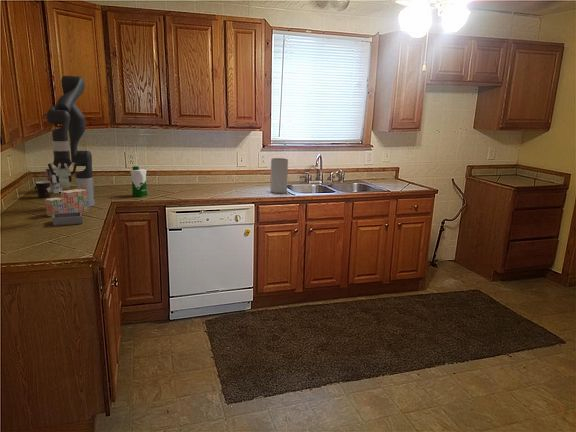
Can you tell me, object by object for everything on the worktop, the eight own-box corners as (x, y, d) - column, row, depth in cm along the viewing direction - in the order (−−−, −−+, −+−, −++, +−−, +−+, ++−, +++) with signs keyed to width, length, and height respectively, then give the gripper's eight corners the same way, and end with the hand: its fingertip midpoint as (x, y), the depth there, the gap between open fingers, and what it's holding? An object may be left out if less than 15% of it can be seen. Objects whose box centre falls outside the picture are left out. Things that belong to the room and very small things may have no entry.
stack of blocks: (52, 217, 231) (50, 195, 228) (46, 215, 234) (44, 193, 231) (89, 210, 249) (87, 189, 246) (82, 208, 252) (81, 188, 249)
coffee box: (63, 192, 295) (61, 169, 291) (53, 193, 290) (51, 170, 286) (56, 190, 300) (54, 167, 296) (47, 191, 295) (44, 168, 291)
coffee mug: (47, 195, 283) (45, 180, 281) (54, 197, 279) (53, 182, 277) (29, 198, 273) (27, 182, 271) (36, 200, 269) (35, 184, 267)
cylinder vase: (267, 192, 321) (268, 159, 315) (274, 189, 332) (275, 157, 326) (283, 194, 317) (284, 160, 310) (289, 191, 328) (290, 158, 322)
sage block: (59, 186, 225) (58, 167, 223) (69, 186, 227) (67, 167, 225) (59, 188, 221) (58, 168, 218) (69, 187, 223) (67, 168, 220)
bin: (53, 221, 223) (53, 213, 222) (82, 219, 229) (81, 211, 228) (53, 226, 214) (52, 218, 213) (82, 223, 220) (81, 216, 219)
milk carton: (138, 194, 298) (137, 165, 293) (149, 195, 295) (148, 166, 291) (130, 196, 290) (128, 167, 285) (141, 197, 287) (139, 168, 282)
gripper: (76, 149, 226) (79, 181, 230) (45, 149, 220) (49, 182, 223) (76, 150, 219) (79, 183, 223) (45, 150, 213) (48, 184, 217)
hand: (64, 182), depth 223 cm, fingers closed on sage block, 4 cm apart
